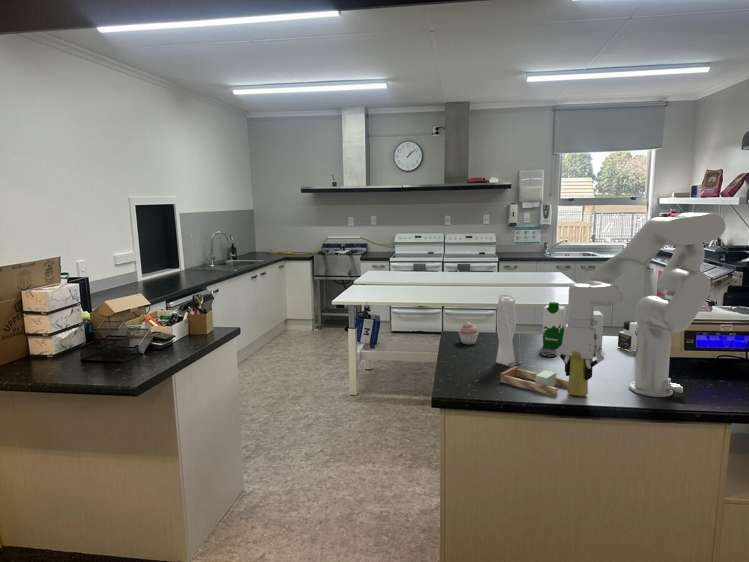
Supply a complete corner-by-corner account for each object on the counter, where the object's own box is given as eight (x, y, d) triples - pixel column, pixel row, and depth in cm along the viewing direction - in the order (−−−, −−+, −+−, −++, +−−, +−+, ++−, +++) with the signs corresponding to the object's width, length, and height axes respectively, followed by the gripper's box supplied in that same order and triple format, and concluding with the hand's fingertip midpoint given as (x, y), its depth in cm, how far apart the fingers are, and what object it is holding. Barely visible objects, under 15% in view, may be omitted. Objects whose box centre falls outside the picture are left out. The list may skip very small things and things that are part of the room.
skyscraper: (508, 368, 186) (510, 296, 182) (491, 363, 193) (492, 293, 189) (521, 363, 192) (523, 293, 188) (504, 358, 198) (505, 291, 194)
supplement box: (602, 349, 209) (604, 315, 207) (580, 348, 211) (581, 314, 209) (598, 343, 218) (599, 310, 216) (576, 342, 220) (578, 310, 218)
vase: (589, 396, 155) (591, 353, 153) (569, 395, 156) (571, 352, 154) (585, 389, 161) (587, 348, 159) (565, 388, 162) (567, 347, 160)
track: (569, 387, 165) (569, 378, 165) (556, 396, 158) (556, 386, 157) (514, 374, 179) (515, 366, 179) (500, 382, 172) (500, 373, 171)
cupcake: (478, 340, 227) (478, 319, 225) (479, 345, 218) (480, 323, 216) (457, 339, 228) (457, 319, 227) (458, 345, 219) (458, 323, 217)
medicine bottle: (617, 347, 211) (618, 320, 209) (630, 346, 213) (631, 319, 211) (630, 352, 204) (631, 324, 202) (643, 350, 206) (645, 322, 204)
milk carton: (540, 348, 212) (541, 303, 209) (545, 343, 220) (546, 299, 217) (561, 350, 207) (563, 304, 205) (565, 345, 215) (567, 301, 212)
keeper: (555, 385, 167) (556, 372, 166) (546, 391, 162) (546, 378, 161) (544, 382, 170) (545, 370, 169) (535, 388, 164) (535, 375, 164)
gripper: (612, 324, 152) (610, 379, 154) (558, 316, 163) (557, 368, 166) (604, 328, 146) (601, 386, 149) (549, 320, 158) (547, 374, 161)
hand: (578, 376), depth 157 cm, fingers closed on vase, 5 cm apart
